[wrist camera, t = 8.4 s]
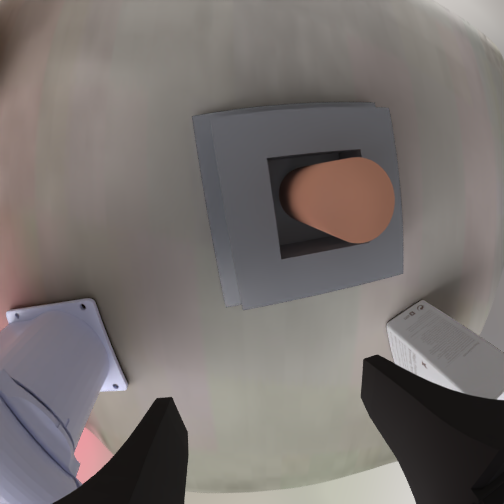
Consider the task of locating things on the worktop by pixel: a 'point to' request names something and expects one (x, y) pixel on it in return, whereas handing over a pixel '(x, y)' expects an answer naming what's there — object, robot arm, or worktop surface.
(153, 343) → the worktop surface
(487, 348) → the skincare box
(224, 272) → the socket block
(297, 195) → the peg
